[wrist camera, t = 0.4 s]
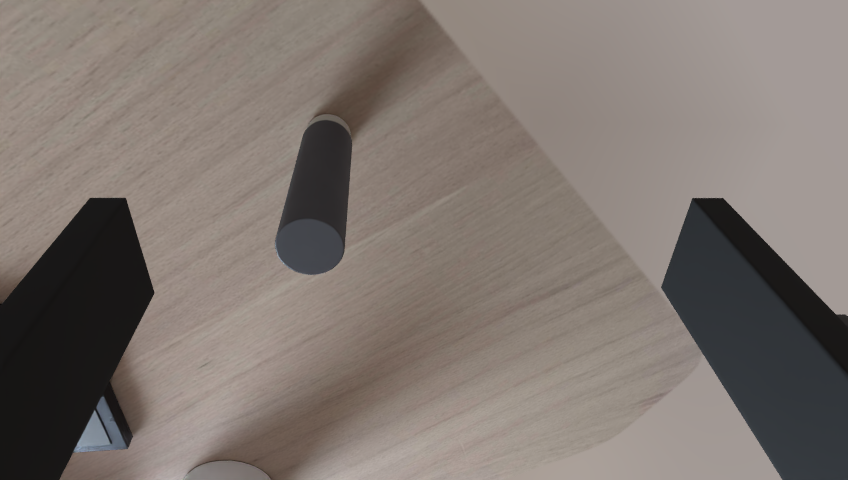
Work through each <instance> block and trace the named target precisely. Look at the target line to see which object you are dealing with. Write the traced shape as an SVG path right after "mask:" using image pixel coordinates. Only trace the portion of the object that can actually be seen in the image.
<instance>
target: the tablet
mask: <svg viewBox="0 0 848 480" xmlns="http://www.w3.org/2000/svg"><path fill="white" fill-rule="evenodd" d="M1 305H2V304H0V306H1ZM132 437H133V436H132V433H131V431H130V429H129V426H128V424H127V422H126V419H125V417H124V415H123V413H122V410H121V408H120V406H119V403H118V401H117V399H116V396H115V394H114V392H113V389H112V387H111V385H110V382H109V383H108V385H107V387H106V389H105V391H104V393H103V395H102V397H101V399H100V401H99V403H98V405H97V407H96V409H95V411H94V413H93V415H92V416H91V418H90V420H89V422H88V424H87V426H86V428H85V430H84V432H83V434H82V436H81V438H80V440H79V442H78V444H77V446H76V448H75V450H74V452H89V451H103V450H118V449H128V447H129V445H130V442H131V440H132ZM74 452H73V453H74Z"/></svg>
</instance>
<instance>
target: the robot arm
mask: <svg viewBox="0 0 848 480" xmlns="http://www.w3.org/2000/svg"><path fill="white" fill-rule="evenodd" d="M661 288H662V290H663V291H664V293H665V294H666V296H667V298H668V299H669V301H670V302H671V304H672V306H673V307H674V309H675V310H676V312H677V313H678V315H679V317H680V318H681V320H682V321H683V323H684V325H685V326H686V328H687V329H688V331H689V332H690V334H691V336H692V337H693V339H694V340H695V342H696V344H697V345H698V347H699V348H700V350H701V351H702V353H703V355H704V356H705V358H706V359H707V361H708V362H709V364H710V366H711V367H712V369H713V370H714V372H715V374H716V375H717V376H718V378H719V380H720V381H721V383H722V385H723V386H724V388H725V389H726V391H727V392H728V394H729V396H730V397H731V399H732V400H733V402H734V404H735V405H736V407H737V408H738V410H739V411H740V413H741V415H742V416H743V418H744V419H745V421H746V423H747V424H748V426H749V427H750V429H751V431H752V432H753V434H754V435H755V437H756V438H757V440H758V441H759V443H760V445H761V446H762V448H763V450H764V451H765V453H766V454H767V456H768V457H769V459H770V461H771V462H772V464H773V465H774V467H775V468H776V470H777V472H778V473H779V475H780V476H781V478H782V480H848V316H846V315H836V314H835V313H834V312H833V311H832V310H831V309H830V308H829V307H828V306H827V305H826V304H825V303H824V302H823V301H822V300H821V299H820V298H819V297H818V296H817V295H816V294H815V293H814V292H813V290H812V289H811V288H810V287H809V286H808V285H807V284H806V283H805V282H804V281H803V280H802V279H801V278H800V277H799V276H798V275H797V274H796V273H795V272H794V271H793V270H792V269H791V268H790V267H789V266H788V265H787V264H786V263H785V262H784V261H783V260H782V258H781V257H780V256H778V254H777V253H776V252H775V251H774V250H773V249H772V248H771V247H770V246H769V245H768V244H767V243H766V242H765V241H764V240H763V239H762V238H761V237H760V236H759V235H758V234H757V233H756V232H755V231H754V230H753V229H752V228H751V227H750V226H749V224H748V223H747V222H746V221H745V220H744V219H743V218H742V217H741V216H740V215H739V214H738V213H737V212H736V211H735V210H734V209H733V208H732V207H731V206H730V205H729V204H728V203H727V202H726V201H725V200H724V199H723V198H693V199H692V201H691V204H690V207H689V210H688V212H687V216H686V218H685V221H684V224H683V227H682V229H681V232H680V235H679V238H678V241H677V244H676V247H675V249H674V252H673V255H672V258H671V261H670V264H669V266H668V269H667V272H666V275H665V278H664V281H663V284H662V287H661ZM153 295H154V290H153V286H152V283H151V280H150V276H149V273H148V270H147V267H146V263H145V260H144V257H143V253H142V250H141V247H140V243H139V240H138V237H137V234H136V230H135V227H134V224H133V220H132V217H131V214H130V210H129V207H128V204H127V200H126V198H90V199H89V200H88V201H87V202H86V204H85V205H84V206H83V207H82V208H81V210H80V211H79V212H78V213H77V214H76V216H75V217H74V218H73V219H72V220H71V222H70V223H69V224H68V225H67V226H66V228H65V229H64V230H63V231H62V232H61V234H60V235H59V236H58V237H57V238H56V240H55V241H54V242H53V243H52V244H51V246H50V247H49V248H48V249H47V250H46V252H45V253H44V254H43V255H42V257H41V258H40V259H39V260H38V261H37V263H36V264H35V265H34V266H33V267H32V269H31V270H30V271H29V272H28V273H27V275H26V276H25V277H24V278H23V279H22V281H21V282H20V283H19V284H18V285H17V287H16V288H15V289H14V290H13V291H12V293H11V294H10V295H9V296H8V297H7V299H6V300H5V301H4V302H3V303H2V305H1V306H0V480H59V479H60V477H61V475H62V473H63V471H64V469H65V467H66V465H67V464H68V462H69V460H70V458H71V456H72V454H73V452H74V450H75V448H76V446H77V444H78V442H79V440H80V438H81V436H82V434H83V432H84V430H85V428H86V426H87V424H88V422H89V420H90V418H91V416H92V415H93V413H94V411H95V409H96V407H97V405H98V403H99V401H100V399H101V397H102V395H103V393H104V391H105V389H106V387H107V385H108V383H109V381H110V379H111V377H112V375H113V373H114V371H115V369H116V368H117V366H118V364H119V362H120V360H121V358H122V356H123V354H124V352H125V350H126V348H127V346H128V344H129V342H130V340H131V338H132V336H133V334H134V332H135V330H136V328H137V326H138V324H139V322H140V320H141V319H142V317H143V315H144V313H145V311H146V309H147V307H148V305H149V303H150V301H151V299H152V297H153Z"/></svg>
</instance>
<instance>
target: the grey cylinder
mask: <svg viewBox="0 0 848 480" xmlns="http://www.w3.org/2000/svg"><path fill="white" fill-rule="evenodd" d="M351 154H352V140H351V132H350V129H349V127H348V125H347V124H346V122H345V121H344V120H342V119H341V118H340V117H338V116H335V115H331V114H323V115H319V116H317V117H315V118H314V119H313V120H311V122H310V123H309V124H308V126H307V129H306V130H305V132H304V134H303V138H302V141H301V145H300V149H299V153H298V156H297V160H296V164H295V168H294V172H293V175H292V179H291V183H290V187H289V190H288V194H287V198H286V202H285V205H284V209H283V213H282V217H281V221H280V224H279V228H278V232H277V236H276V240H275V249H276V252H277V255H278V257H279V258H280V260H281V261H282V262H283V263H284V264H285V265H286V266H287V267H288V268H290V269H292V270H293V271H296V272H298V273H302V274H308V275H315V274H321V273H325V272H327V271H329V270H331V269H333V268H334V267H335V266H336V265H337V264H338V263H339V262H340V261H341V259H342V257H343V254H344V249H345V236H346V222H347V208H348V195H349V181H350V167H351Z"/></svg>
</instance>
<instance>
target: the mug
mask: <svg viewBox="0 0 848 480" xmlns="http://www.w3.org/2000/svg"><path fill="white" fill-rule="evenodd" d="M183 480H271V479H270V478H269V476H268V475H267V474H266V473H265V472H263V471H262V470H260V469H259V468H257V467H255V466H252V465H250V464H246V463H242V462H237V461H214V462H209V463H206V464H202V465H200V466H198V467H196V468H194V469H193V470H192V471H190V472H189V473H188V474H187V475H186V477H185V478H184V479H183Z"/></svg>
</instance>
